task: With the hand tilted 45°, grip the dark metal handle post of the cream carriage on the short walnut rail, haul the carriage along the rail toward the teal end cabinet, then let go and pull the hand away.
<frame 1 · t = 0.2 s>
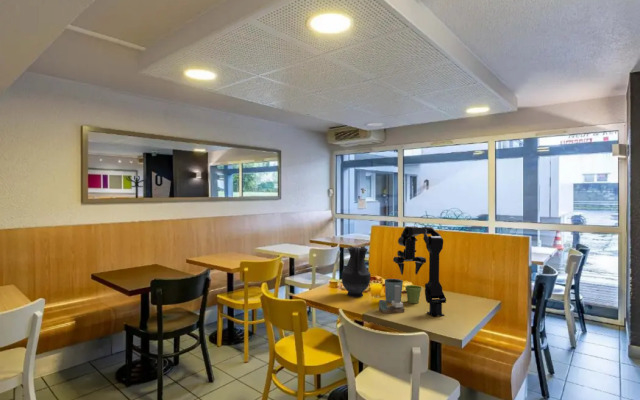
hand: (409, 274, 213), 15 cm above the table, tool pointing down, fingers open, 9 cm apart
drinking glass: (393, 301, 209), on the table
carriage: (397, 295, 191), point 8 cm above the table, slide at 0.0 cm
plant pot: (413, 302, 209), on the table
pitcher: (355, 296, 219), on the table
rail bed: (391, 311, 190), on the table
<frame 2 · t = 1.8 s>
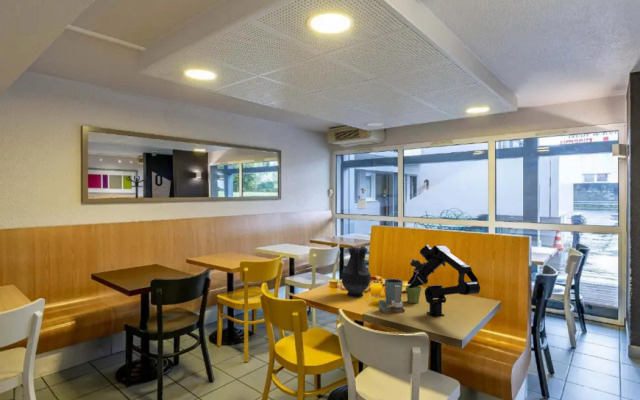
hand: (408, 285, 190), 14 cm above the table, tool tilted 45°, fingers open, 9 cm apart
nothing on the table moved.
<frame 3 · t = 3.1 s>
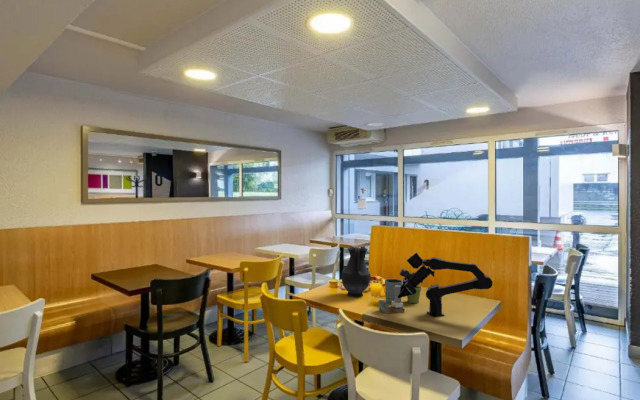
hand: (397, 295, 191), 8 cm above the table, tool tilted 45°, fingers open, 9 cm apart
nothing on the table moved.
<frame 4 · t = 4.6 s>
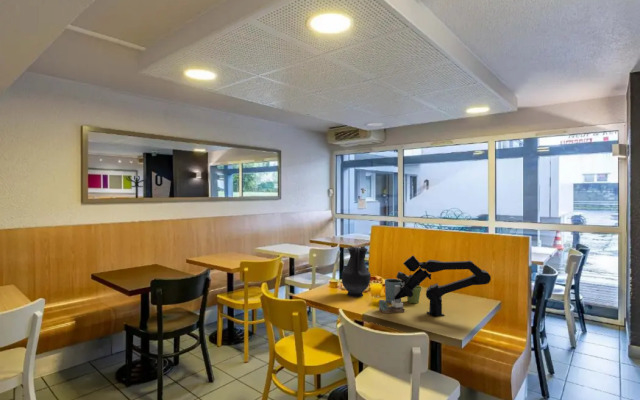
hand: (394, 298, 191), 7 cm above the table, tool tilted 45°, fingers closed on carriage, 3 cm apart
carriage: (397, 295, 191), point 8 cm above the table, slide at 0.0 cm, touching gripper
everything else where it was.
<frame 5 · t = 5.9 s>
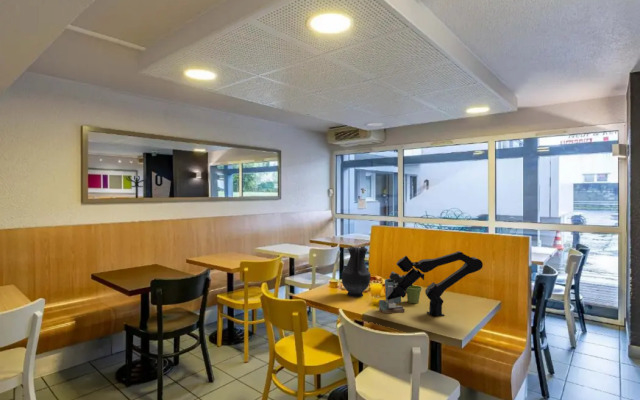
hand: (387, 298, 190), 7 cm above the table, tool tilted 45°, fingers closed on carriage, 3 cm apart
carriage: (390, 296, 190), point 8 cm above the table, slide at 4.0 cm, touching gripper
everything else where it was.
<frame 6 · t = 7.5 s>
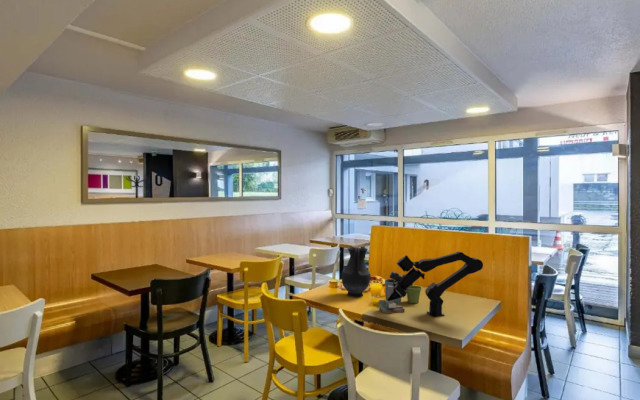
hand: (387, 297, 190), 7 cm above the table, tool tilted 45°, fingers open, 9 cm apart
carriage: (390, 296, 190), point 8 cm above the table, slide at 4.0 cm
everything else where it was.
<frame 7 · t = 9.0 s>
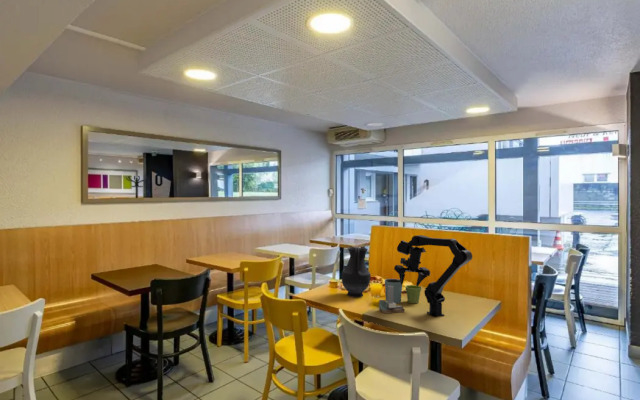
hand: (409, 285, 198), 12 cm above the table, tool pointing down, fingers open, 9 cm apart
nothing on the table moved.
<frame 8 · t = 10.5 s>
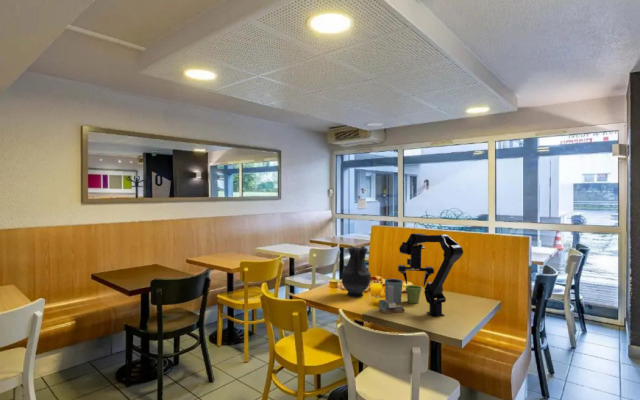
hand: (415, 284, 199), 12 cm above the table, tool pointing down, fingers open, 9 cm apart
nothing on the table moved.
at the end: carriage slide at 4.0 cm; the gripper is holding nothing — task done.
